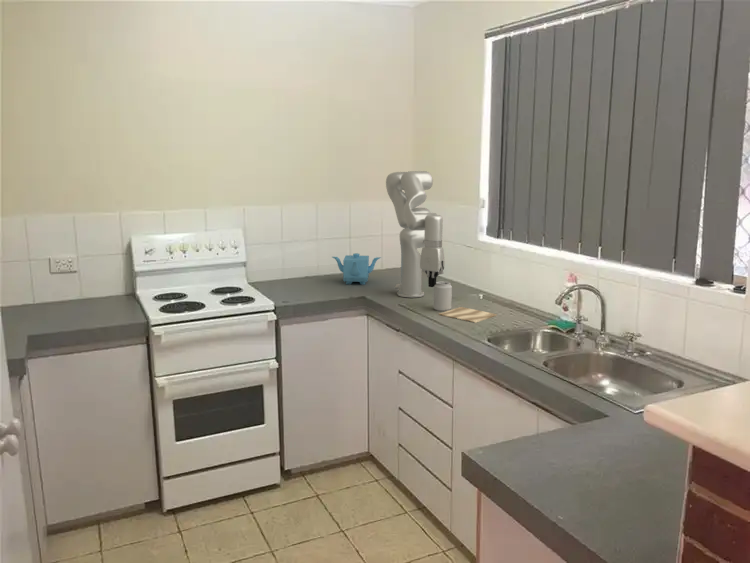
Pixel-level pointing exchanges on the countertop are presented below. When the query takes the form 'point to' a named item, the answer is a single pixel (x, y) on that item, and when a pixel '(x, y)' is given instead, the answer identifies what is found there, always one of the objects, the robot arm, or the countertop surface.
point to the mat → (468, 314)
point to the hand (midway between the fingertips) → (432, 286)
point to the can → (442, 296)
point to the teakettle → (356, 268)
